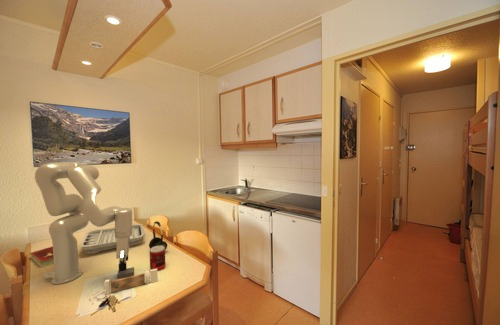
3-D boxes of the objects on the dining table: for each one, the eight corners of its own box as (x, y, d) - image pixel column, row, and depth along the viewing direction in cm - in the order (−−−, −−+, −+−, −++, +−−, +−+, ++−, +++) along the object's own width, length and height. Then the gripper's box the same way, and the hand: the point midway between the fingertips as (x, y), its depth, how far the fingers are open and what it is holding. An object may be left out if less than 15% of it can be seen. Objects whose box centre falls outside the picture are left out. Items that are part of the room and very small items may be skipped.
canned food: (154, 264, 122) (153, 245, 121) (167, 264, 121) (167, 245, 121) (147, 271, 114) (146, 251, 113) (161, 271, 114) (161, 251, 113)
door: (110, 294, 96) (110, 283, 95) (111, 291, 98) (110, 281, 98) (144, 285, 102) (144, 275, 101) (145, 282, 104) (144, 273, 104)
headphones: (155, 258, 128) (154, 226, 127) (147, 250, 138) (146, 220, 137) (169, 253, 134) (168, 222, 133) (160, 246, 144) (159, 217, 143)
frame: (105, 295, 95) (104, 282, 95) (106, 292, 97) (105, 279, 97) (157, 281, 105) (157, 269, 105) (157, 279, 107) (157, 268, 106)
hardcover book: (55, 251, 140) (55, 245, 140) (67, 259, 129) (66, 253, 129) (30, 259, 130) (29, 252, 130) (40, 269, 119) (39, 261, 119)
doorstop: (117, 283, 104) (117, 275, 104) (118, 277, 109) (118, 270, 109) (133, 279, 107) (133, 271, 107) (134, 274, 112) (133, 267, 112)
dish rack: (145, 246, 146) (144, 235, 145) (77, 260, 127) (76, 247, 127) (142, 231, 173) (142, 222, 173) (86, 241, 155) (86, 230, 154)
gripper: (117, 228, 113) (117, 259, 114) (112, 240, 97) (112, 276, 98) (133, 226, 116) (133, 256, 117) (130, 238, 101) (130, 273, 102)
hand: (123, 265), depth 108 cm, fingers open, 9 cm apart
